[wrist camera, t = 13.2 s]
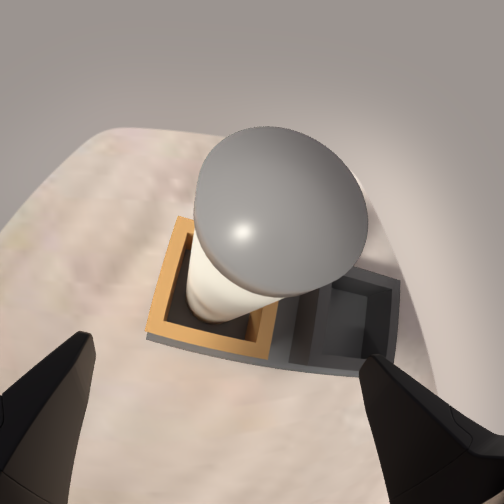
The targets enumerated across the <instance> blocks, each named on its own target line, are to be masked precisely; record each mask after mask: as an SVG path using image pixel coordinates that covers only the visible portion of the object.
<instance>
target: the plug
mask: <svg viewBox="0 0 504 504" xmlns="http://www.w3.org/2000/svg"><path fill="white" fill-rule="evenodd" d="M193 216H194V226H195V230H194V236H193V243H192V249H191V256H190V263H189V271H188V278H187V286H186V303H187V306H188V308H189V310H190V312H191V313H192V315H193V316H194V317H196V318H197V319H198V320H200V321H201V322H204V323H207V324H212V325H216V324H222V323H225V322H227V321H230V320H232V319H235V318H237V317H240V316H242V315H245V314H247V313H250V312H252V311H255V310H257V309H259V308H262V307H264V306H267V305H269V304H271V303H274V302H276V301H278V300H281V299H283V298H287V297H294V296H299V295H302V294H305V293H308V292H310V291H313V290H315V289H318V288H320V287H322V286H325V285H327V284H329V283H331V282H333V281H335V280H337V279H339V278H340V277H342V276H343V275H344V274H346V273H347V272H348V271H349V270H350V269H351V268H352V267H353V266H354V264H355V263H356V261H357V260H358V259H359V257H360V255H361V253H362V251H363V248H364V245H365V242H366V238H367V232H368V215H367V208H366V203H365V200H364V197H363V194H362V191H361V189H360V187H359V185H358V183H357V181H356V179H355V178H354V176H353V174H352V173H351V171H350V170H349V169H348V167H347V166H346V165H345V164H344V163H343V161H342V160H341V159H340V158H339V157H338V156H337V155H336V154H335V153H333V152H332V151H331V150H330V149H328V148H327V147H326V146H324V145H323V144H321V143H320V142H318V141H317V140H315V139H313V138H311V137H309V136H307V135H305V134H302V133H300V132H297V131H294V130H290V129H285V128H280V127H269V126H267V127H254V128H248V129H245V130H241V131H238V132H236V133H234V134H232V135H230V136H228V137H226V138H225V139H223V140H222V141H221V142H220V143H218V144H217V145H216V146H215V147H214V148H213V149H212V150H211V152H210V153H209V154H208V156H207V157H206V159H205V161H204V163H203V165H202V167H201V170H200V173H199V177H198V182H197V188H196V195H195V202H194V214H193Z"/></svg>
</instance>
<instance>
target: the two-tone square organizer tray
mask: <svg viewBox="0 0 504 504" xmlns="http://www.w3.org/2000/svg"><path fill="white" fill-rule="evenodd" d="M194 230H195V226H194V220H191V219H188V218H184V217H181V216H178V217H177V220H176V223H175V226H174V229H173V232H172V235H171V238H170V242H169V245H168V248H167V251H166V255H165V258H164V261H163V265H162V268H161V271H160V275H159V278H158V282H157V285H156V289H155V293H154V296H153V300H152V304H151V308H150V312H149V316H148V320H147V324H146V328H145V331H146V332H147V337H146V340H150V341H153V342H157V343H160V344H164V345H167V346H171V347H175V348H179V349H183V350H187V351H191V352H195V353H199V354H203V355H208V356H212V357H217V358H221V359H226V360H231V361H236V362H241V363H247V364H252V365H258V366H264V367H270V368H277V369H283V370H290V371H298V372H306V373H315V374H324V375H334V376H346V377H359V370H360V368H361V367H362V365H363V364H364V362H365V361H366V359H367V357H368V356H369V355H371V354H380V355H382V356H383V357H385V358H386V359H387V360H389V361H390V362H392V363H393V364H394V358H395V349H396V341H397V330H398V318H399V303H400V280H397V279H393V278H390V277H387V276H384V275H380V274H377V273H374V272H371V271H367V270H364V269H361V268H357V267H354V266H353V267H352V268H351V269H350V270H349V271H348V272H347V273H346V274H344V275H343V276H342V277H340V278H339V279H337V280H335V281H333V282H331V283H329V284H327V285H325V286H322V287H320V288H318V289H315V290H313V291H310V292H308V293H305V294H302V295H299V296H294V297H287V298H283V299H281V300H278V301H276V302H274V303H271V304H269V305H267V306H264V307H262V308H259V309H257V310H255V311H252V312H250V313H247V314H245V315H242V316H240V317H237V318H235V319H232V320H230V321H227V322H225V323H222V324H216V325H212V324H207V323H204V322H201V321H200V320H198V319H197V318H196V317H194V316H193V315H192V313H191V312H190V310H189V308H188V306H187V303H186V286H187V278H188V271H189V263H190V256H191V249H192V243H193V236H194Z"/></svg>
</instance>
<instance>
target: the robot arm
mask: <svg viewBox="0 0 504 504" xmlns="http://www.w3.org/2000/svg"><path fill="white" fill-rule="evenodd" d="M95 359H96V352H95V347H94V342H93V337H92V335H91V334H90V333H87V332H83V331H78V332H76V333H75V334H74V335H73V336H71V337H70V338H69V339H68V340H66V341H65V342H64V343H63V344H61V345H60V346H59V347H58V348H56V349H55V350H54V351H53V352H51V353H50V354H49V355H48V356H46V357H45V358H44V359H43V360H41V361H40V362H39V363H38V364H37V365H35V366H34V367H33V368H32V369H31V370H29V371H28V372H27V373H26V374H25V375H23V376H22V377H21V378H20V379H19V380H18V381H16V382H15V383H14V384H13V385H12V386H11V387H9V388H8V389H7V390H6V391H5V392H4V393H2V396H1V395H0V504H67V503H68V495H69V488H70V482H71V475H72V470H73V464H74V459H75V454H76V449H77V445H78V440H79V436H80V431H81V427H82V423H83V419H84V415H85V412H86V408H87V404H88V399H89V393H90V386H91V380H92V375H93V369H94V364H95ZM359 380H360V385H361V390H362V395H363V400H364V405H365V410H366V414H367V417H368V421H369V424H370V427H371V431H372V434H373V438H374V442H375V445H376V449H377V453H378V456H379V460H380V464H381V468H382V472H383V476H384V480H385V484H386V488H387V493H388V497H389V502H390V504H504V436H502V435H497V434H494V433H492V432H490V431H489V430H487V429H485V428H484V427H482V426H480V425H479V424H477V423H475V422H474V421H472V420H471V419H469V418H467V417H466V416H464V415H463V414H461V413H460V412H459V411H457V410H456V409H454V408H453V407H451V406H449V404H448V403H446V402H445V401H443V400H442V399H441V398H439V397H438V396H437V395H435V394H434V393H432V392H431V391H430V390H428V389H427V388H426V387H424V386H423V385H421V384H420V383H419V382H417V381H416V380H415V379H413V378H412V377H411V376H409V375H408V374H407V373H405V372H404V371H402V370H401V369H400V368H398V367H397V366H396V365H394V364H393V363H392V362H390V361H389V360H387V359H386V358H385V357H383V356H382V355H380V354H371V355H369V356H368V357H367V359H366V361H365V362H364V364H363V365H362V367H361V368H360V370H359Z"/></svg>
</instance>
